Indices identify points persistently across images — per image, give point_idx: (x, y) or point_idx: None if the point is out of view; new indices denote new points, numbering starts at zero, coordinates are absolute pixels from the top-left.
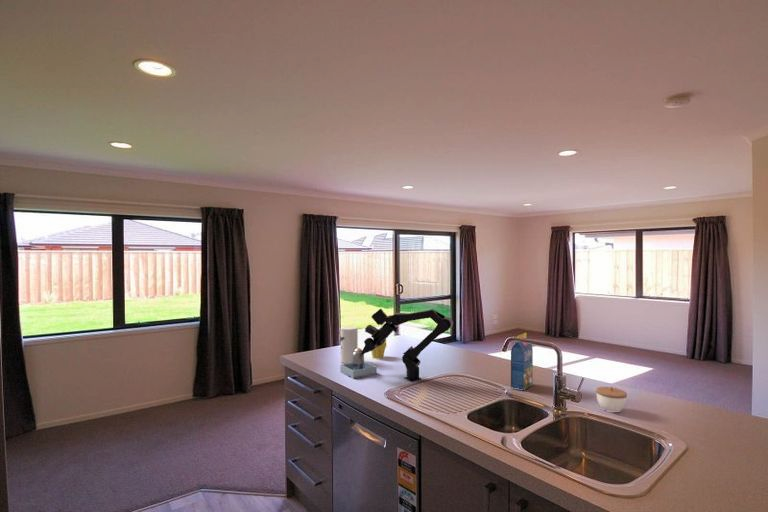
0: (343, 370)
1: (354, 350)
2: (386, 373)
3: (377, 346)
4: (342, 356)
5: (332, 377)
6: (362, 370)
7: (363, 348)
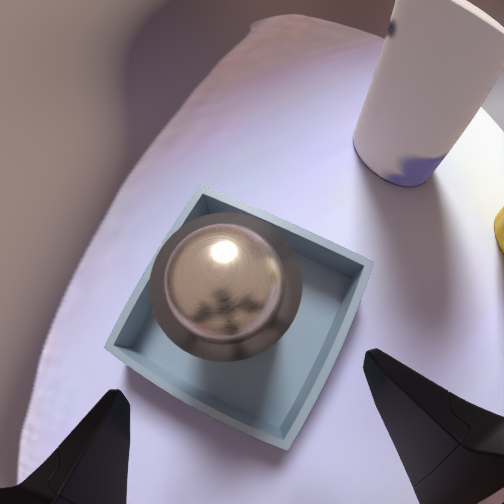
0: None
1: (186, 236)
2: (329, 470)
3: (413, 486)
4: (361, 113)
5: (111, 231)
6: (169, 390)
7: (61, 443)
